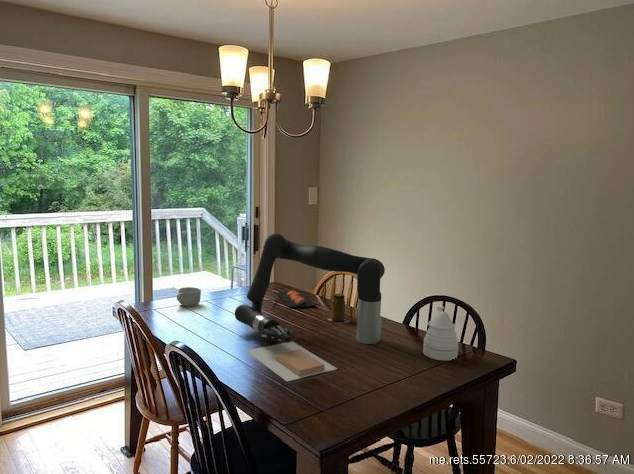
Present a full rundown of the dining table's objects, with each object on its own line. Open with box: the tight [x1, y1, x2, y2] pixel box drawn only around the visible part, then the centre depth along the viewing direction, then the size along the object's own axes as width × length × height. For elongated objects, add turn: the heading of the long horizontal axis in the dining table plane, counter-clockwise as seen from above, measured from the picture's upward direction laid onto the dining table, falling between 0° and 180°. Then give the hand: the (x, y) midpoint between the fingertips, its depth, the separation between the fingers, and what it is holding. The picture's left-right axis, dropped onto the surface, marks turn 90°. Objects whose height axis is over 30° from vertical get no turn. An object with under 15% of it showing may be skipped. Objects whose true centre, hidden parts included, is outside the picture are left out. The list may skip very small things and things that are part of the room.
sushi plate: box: [263, 290, 316, 310], centre depth 248 cm, size 29×30×4 cm
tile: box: [275, 349, 324, 376], centre depth 165 cm, size 2×10×16 cm
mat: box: [245, 341, 338, 385], centre depth 170 cm, size 30×20×1 cm, turn 34°
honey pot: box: [422, 305, 460, 361], centre depth 182 cm, size 13×13×18 cm
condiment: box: [327, 293, 352, 325], centre depth 218 cm, size 7×8×12 cm
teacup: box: [176, 286, 202, 308], centre depth 234 cm, size 14×11×8 cm
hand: (288, 339), depth 171 cm, fingers closed
